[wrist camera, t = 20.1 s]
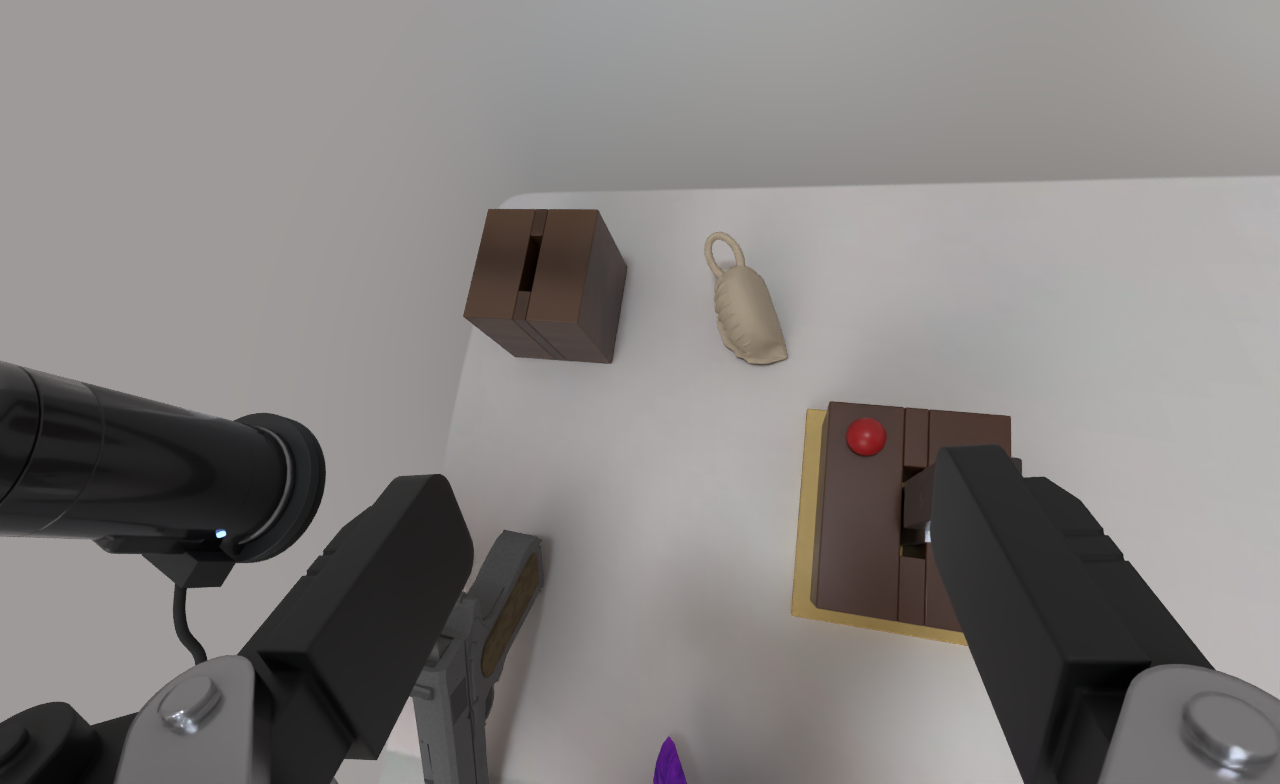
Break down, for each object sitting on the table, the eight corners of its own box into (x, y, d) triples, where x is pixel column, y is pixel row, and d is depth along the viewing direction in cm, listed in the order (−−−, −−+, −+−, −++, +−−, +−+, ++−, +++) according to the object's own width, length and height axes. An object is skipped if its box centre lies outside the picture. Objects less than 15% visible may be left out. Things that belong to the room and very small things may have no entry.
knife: (912, 550, 35) (1023, 539, 19) (873, 544, 36) (949, 529, 20) (914, 496, 36) (1022, 443, 20) (875, 491, 36) (951, 436, 21)
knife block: (611, 364, 44) (577, 323, 36) (514, 356, 46) (462, 316, 38) (627, 266, 46) (598, 208, 38) (533, 264, 48) (487, 208, 40)
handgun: (546, 521, 39) (437, 650, 28) (551, 729, 45) (462, 902, 34) (508, 514, 39) (387, 636, 29) (517, 719, 45) (420, 885, 34)
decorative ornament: (731, 375, 42) (725, 350, 37) (705, 273, 44) (695, 236, 39) (788, 361, 41) (790, 332, 36) (758, 257, 44) (755, 218, 39)
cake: (988, 648, 34) (1055, 675, 26) (791, 614, 37) (794, 629, 28) (987, 427, 37) (1048, 389, 29) (806, 412, 40) (814, 372, 31)
